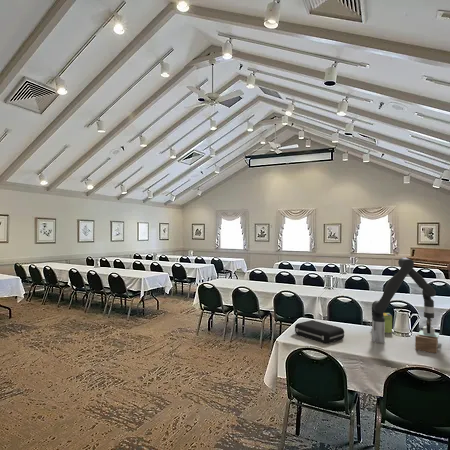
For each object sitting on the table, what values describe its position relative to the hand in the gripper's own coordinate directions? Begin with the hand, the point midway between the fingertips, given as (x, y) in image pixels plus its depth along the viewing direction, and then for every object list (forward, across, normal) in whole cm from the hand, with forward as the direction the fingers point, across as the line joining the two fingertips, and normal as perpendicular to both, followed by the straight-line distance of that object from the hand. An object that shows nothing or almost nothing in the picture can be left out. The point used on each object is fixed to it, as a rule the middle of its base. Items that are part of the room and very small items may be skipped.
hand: (428, 332), depth 293 cm
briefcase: (+8, -37, +78) cm, 87 cm away
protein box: (+8, +12, +38) cm, 41 cm away
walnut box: (+8, -20, 0) cm, 21 cm away
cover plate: (+2, 0, 0) cm, 2 cm away
